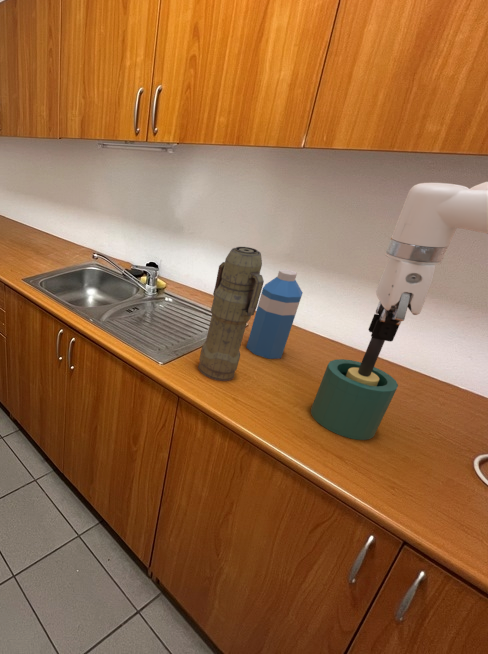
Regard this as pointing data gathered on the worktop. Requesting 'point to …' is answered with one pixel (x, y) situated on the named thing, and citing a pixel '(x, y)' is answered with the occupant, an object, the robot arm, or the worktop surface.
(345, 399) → the teal hollow cylinder
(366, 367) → the joystick
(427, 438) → the worktop surface
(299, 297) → the water bottle
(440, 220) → the robot arm
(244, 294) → the thermos
